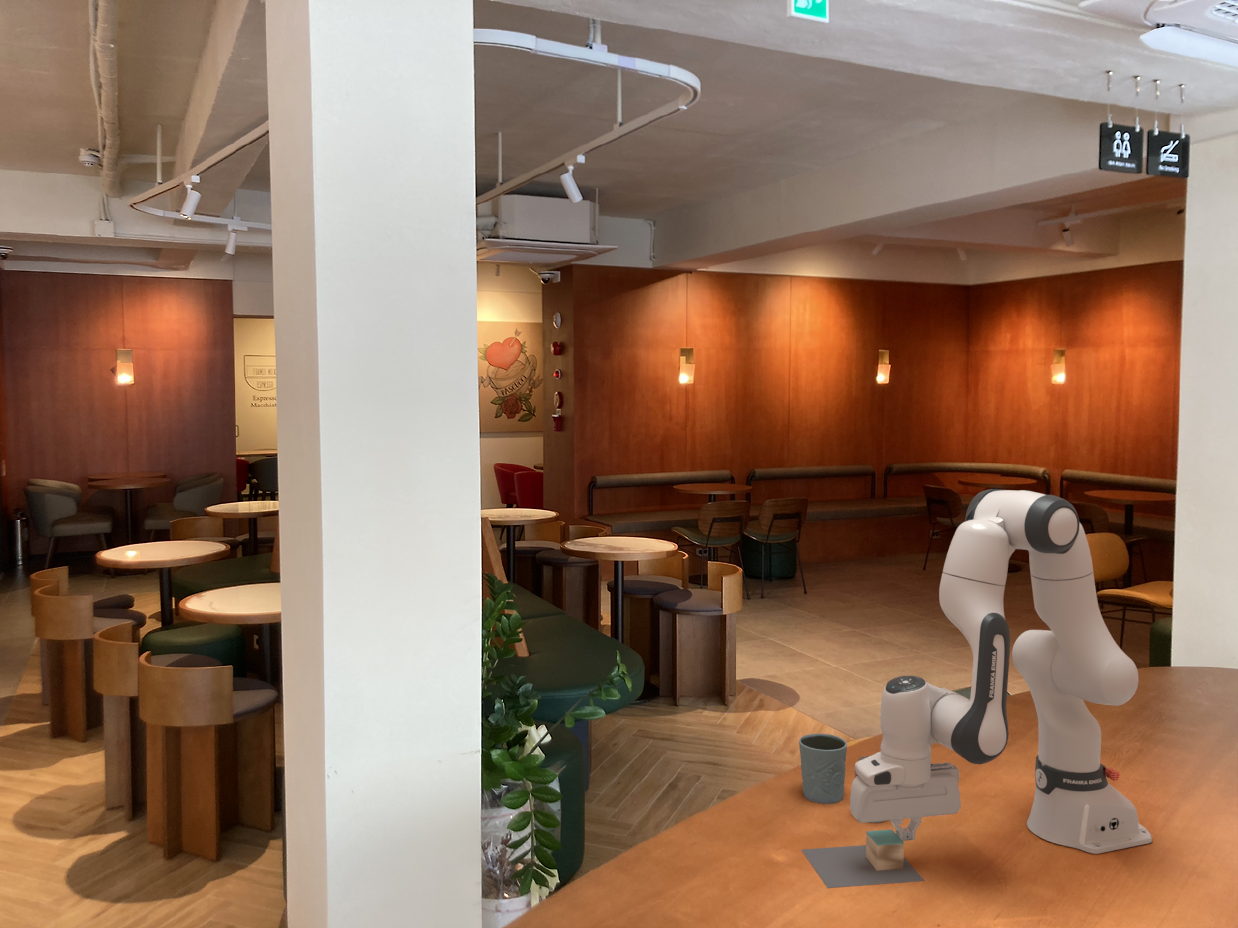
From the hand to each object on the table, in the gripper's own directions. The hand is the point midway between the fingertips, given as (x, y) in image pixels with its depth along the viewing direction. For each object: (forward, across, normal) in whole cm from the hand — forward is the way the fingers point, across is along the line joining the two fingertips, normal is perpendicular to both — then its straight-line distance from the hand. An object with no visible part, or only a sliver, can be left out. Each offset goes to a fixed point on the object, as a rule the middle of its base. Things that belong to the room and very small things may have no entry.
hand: (905, 839), depth 173 cm
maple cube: (+4, +4, 0) cm, 6 cm away
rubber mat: (+5, +9, 0) cm, 10 cm away
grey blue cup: (+5, +4, -31) cm, 32 cm away
